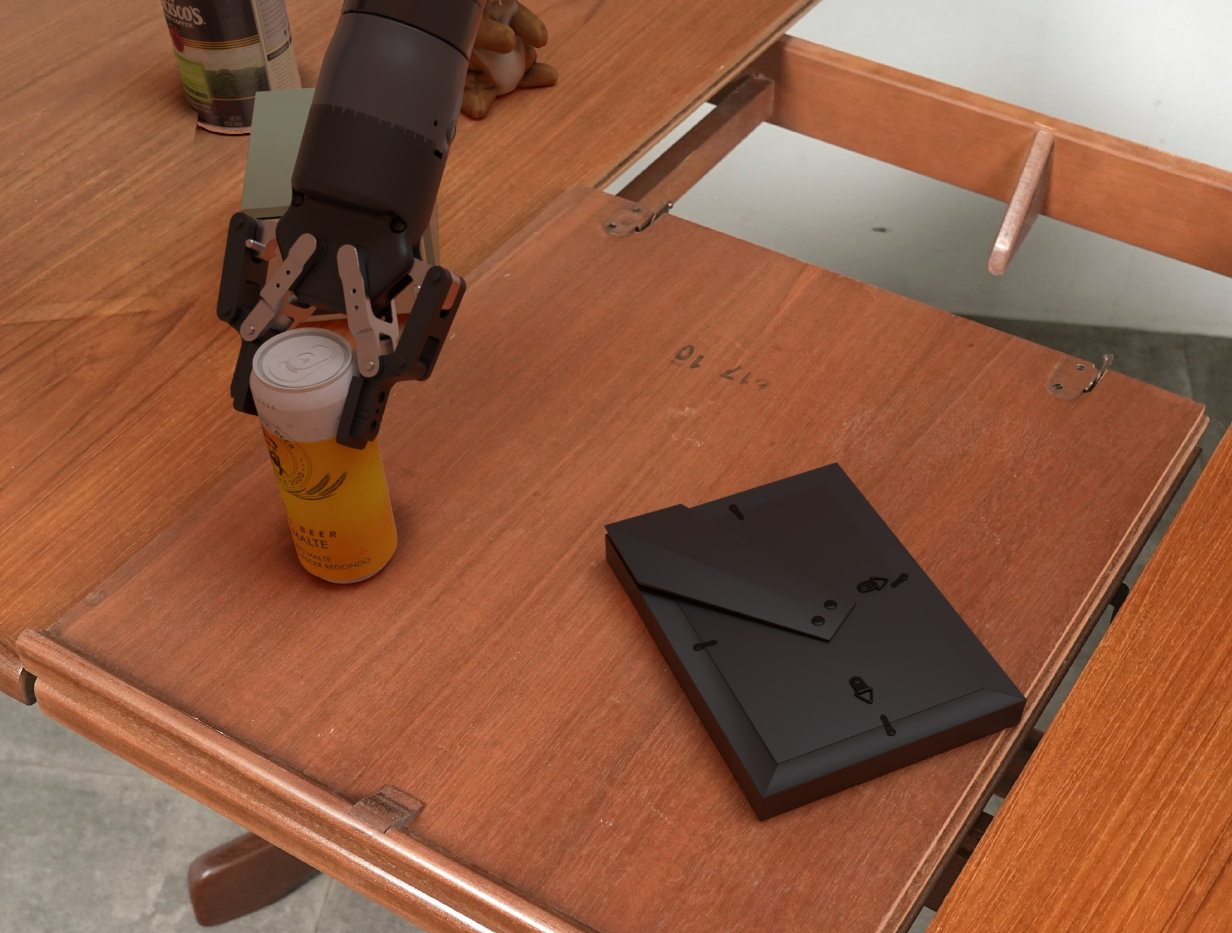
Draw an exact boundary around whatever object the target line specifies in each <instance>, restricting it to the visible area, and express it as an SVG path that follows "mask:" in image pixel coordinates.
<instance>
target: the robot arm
mask: <svg viewBox="0 0 1232 933" xmlns="http://www.w3.org/2000/svg"><path fill="white" fill-rule="evenodd" d="M485 3H486V0H343V3H342V7H341V11H340V16H339V18H338V21H337V24H336V27H335V29H334V32H333V35H332V37H331V39H330V42H329V43H328V46H327V49H326V52H325V54H324V56H323V59H322V63H321V66H320V68H319V69H320V70H319V73H318V78H317V81H316V85H315V87H316V88H315V87H314V88H315V92H314V96H313V100H312V104H311V107H310V110H309V114H308V118H307V122H306V125H305V129H304V133H303V136H302V140H301V144H300V148H299V151H298V155H297V159H296V163H295V166H294V170H293V174H292V178H291V186H292V200H291V204H290V206H289V208H288V209H287V211H286V212H285V213H284V215H283V216H282V217H281V218H280V219H279V221H278V222H276V221H267V220H258V219H256V218H253V217H251V216H249V215H247V214H245V213H243V212H241V211H237V212H235V213H233V214H232V216H231V217H230V219H229V223H228V231H227V238H226V243H225V250H224V256H223V264H222V270H221V277H220V283H219V289H218V294H217V295H218V296H217V302H216V310H215V313H216V316H217V319H219V320H220V321H221V322H224V323H226V324H228V325H229V326H230V327H231V328H233V329H234V330H235V331H236V332H237V333H238V334H239V336H240V340H241V345H240V348H239V352H238V357H237V361H236V364H235V368H234V371H233V376H232V379H231V382H230V385H229V386H230V387H229V393H230V394H229V395H230V398H232V399H233V401H232V407H233V409H234V410H235V411H236V412H240V413H242V414H246V415H250V416H255V417H258V418H259V416H258V413H257V409H256V406H255V402H254V399H253V395H252V391H251V388H250V375H251V372H252V368H253V358H254V355H255V353H256V352H257V350H258V349H259V348H260V347H261V346H262V345H263V344H264V343H265V342H266V341H268V340H269V339H271V338H272V337H274V336H276V335H278V334H281V333H283V332H286V331H289V330H293V329H296V327H297V325H299V324H301V323H300V322H302V321H305V320H307V319H308V318H309V317H310V316H311V314H312V313H313V312H314V311H315V309H316V308H320V309H323V310H327V311H336V312H339V313H341V314H344V315H346V316H347V319H346V320H347V325H348V329H349V332H350V334H351V335H352V336H353V338H354V342H355V343H354V344H355V350H356V351H355V352H356V353H357V359H358V366H359V371H360V377H356V376H352V380H351V383H350V387H349V391H348V394H347V398H346V401H345V405H344V409H343V412H342V416H341V420H340V423H339V427H338V430H337V434H336V442H337V443H338V444H340V445H343V446H346V447H350V448H354V449H359V450H363V449H364V448H365V447H366V445H367V443H368V441H371V442H373V440H374V439H375V438H376V436H377V437H378V435H379V432H380V429H381V425H382V421H383V419H384V417H383V416H384V414H385V411H386V407H387V403H388V401H389V396H390V393H391V391H392V388H393V387H394V386H395V385H396V384H398V383H399V382H407V381H408V382H409V381H418V382H425V381H427V380H429V379H430V377H431V376H432V373H433V371H434V368H435V367H436V365H437V361H438V360H439V357H440V354H441V352H442V349H443V347H444V344H445V342H446V339H447V337H448V334H449V332H450V330H451V327H452V325H453V322H454V320H455V319H456V315H457V313H458V310H459V307H460V305H461V303H462V301H463V298H464V296H465V293H466V290H467V282H466V280H465V279H464V278H463V277H462V276H460V275H458V274H457V273H456V272H455V271H454V272H453V271H452V270H450V269H448V268H445V267H443V266H441V265H440V266H432V265H429V264H427V263H425V262H422V255H421V248H420V245H421V238H422V236H423V234H424V232H425V230H426V229H427V228H428V226H429V222H430V219H431V215H432V212H433V208H434V204H435V201H436V197H437V198H438V194H439V190H440V186H441V182H442V179H443V176H444V172H445V168H446V165H447V161H448V157H449V154H450V150H451V147H452V143H453V142H454V140H455V137H456V134H457V126H458V122H459V118H460V114H461V111H462V110H461V106H462V101H463V94H464V86H465V79H466V74H467V69H468V63H469V60H470V57H471V53H472V49H473V46H474V42H475V39H476V35H477V31H478V28H479V24H480V21H481V17H482V14H483V11H484V7H485ZM278 246H279V250H280V253H281V257H282V260H283V263H282V264H281V266H280V267H279V268H278V270H277V271H276V272H275V273H274V275H273V276H272V277H271V279H270V280H269V281H268V282H267V284H266V278H267V271H268V265H269V260H270V259H271V258H274V257H275V256H276V254H277V252H276V248H277V247H278ZM412 282H414V286H413V288H412V291H413V292H412V294H413V298H414V300H415V303H414V305H413V307H412V310H411V312H410V314H408V315H409V316H408V317H407V320H406V322H405V325H404V327H403V330H402V332H401V335H400V328H399V323H398V315H397V313H396V306H395V299H394V298H395V297H397V296H398V295H399V294H400V293H401V292H402V291H403V290H404V289H405V288H406V287H408V286H409V285H410V284H411V283H412ZM265 284H266V285H265ZM292 291H293V293H294V295H290V294H291V293H292ZM397 341H398V342H397Z"/></svg>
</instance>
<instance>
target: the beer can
mask: <svg viewBox="0 0 1232 933" xmlns="http://www.w3.org/2000/svg"><path fill="white" fill-rule="evenodd" d="M352 376H356V377H360V371H359V366H358V359H357V351H355V350H354V348H352V345H351V343H350V341H349V340H348V339H347V338H346V337H345V336H344V335H342V334H340V333H339V332H337V331H334V330H331V329H327V328H324V327H312V326H311V327H300V328H299V327H298V328H294V329H293V330H289V331H286V332H283V333H281V334H278V335H276V336H274V337H272V338H271V339H269V340H268V341H266V342H265V343H264V344H263V345H262V346H261V347H260V348H259V349H258V350H257V352H256V353H255V355H254V358H253V368H252V372H251V375H250V388H251V391H252V395H253V399H254V402H255V406H256V409H257V413H258V416H259V417H258V416H257V417H258V419H259V423H260V427H261V430H262V434H263V437H264V441H265V445H266V449H267V452H268V455H269V459H270V463H271V465H272V469H273V472H274V476H275V480H276V483H277V487H278V490H279V494H280V498H281V501H282V505H283V508H284V512H285V514H286V515H285V516H286V519H287V523H288V526H289V529H290V533H291V536H292V540H293V544H294V547H295V551H296V554H297V558H298V560H299V562H300V564H301V566H302V567H303V569H305V570H306V571H307V572H308V573H310V574H311V575H313V576H315V577H318V578H320V579H322V580H324V581H327V582H329V583H333V584H344V585H345V584H354V583H358V582H362V581H365V580H367V579H369V578H371V577H373V576H375V575H376V574H378V573H379V572H380V571H381V570H382V569H383V568H384V567H385V566H386V565H387V563H388V562H390V560H391V558H392V557H393V556H394V554H395V552H396V550H397V546H398V540H399V539H398V533H397V532H398V531H397V528H396V523H395V518H394V513H393V508H392V504H391V502H392V501H391V497H390V492H389V488H388V483H387V478H386V473H385V467H384V463H383V457H382V454H381V448H380V443H379V437H378V435H377V436H376V438H375V439H374V440H373V442H371V441H368V443H367V445H366V447H365V448H364V449H363V450H359V449H354V448H350V447H346V446H343V445H340V444H338V443H337V442H336V434H337V430H338V427H339V423H340V420H341V416H342V412H343V409H344V405H345V401H346V398H347V394H348V391H349V387H350V383H351V380H352Z"/></svg>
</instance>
